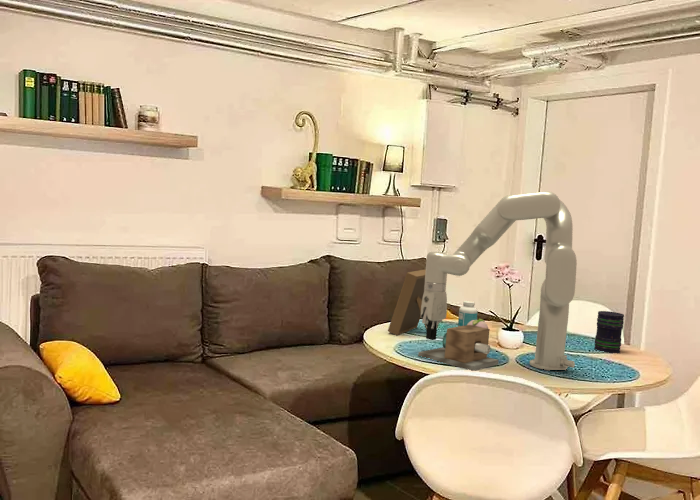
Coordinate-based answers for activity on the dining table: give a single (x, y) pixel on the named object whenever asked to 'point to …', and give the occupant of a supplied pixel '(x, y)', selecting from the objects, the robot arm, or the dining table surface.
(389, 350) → the dining table surface
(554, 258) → the robot arm
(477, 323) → the decorative fruit
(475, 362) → the bearing block
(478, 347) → the shaft
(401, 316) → the photo frame
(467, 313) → the pill bottle
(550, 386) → the dining table surface
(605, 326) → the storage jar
